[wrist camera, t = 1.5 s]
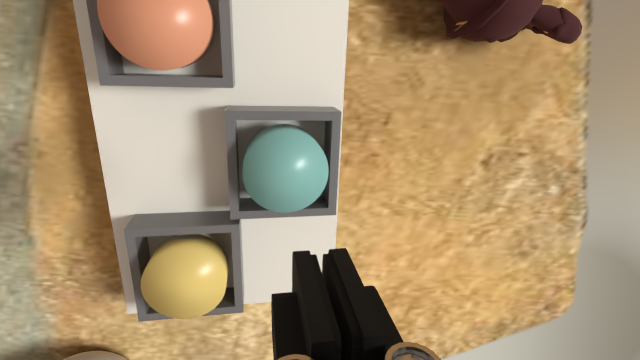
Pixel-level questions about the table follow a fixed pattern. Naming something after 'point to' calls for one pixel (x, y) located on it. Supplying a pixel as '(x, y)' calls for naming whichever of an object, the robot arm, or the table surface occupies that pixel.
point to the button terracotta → (158, 30)
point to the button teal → (284, 168)
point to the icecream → (508, 20)
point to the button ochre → (185, 276)
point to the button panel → (218, 140)
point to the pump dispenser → (96, 356)
